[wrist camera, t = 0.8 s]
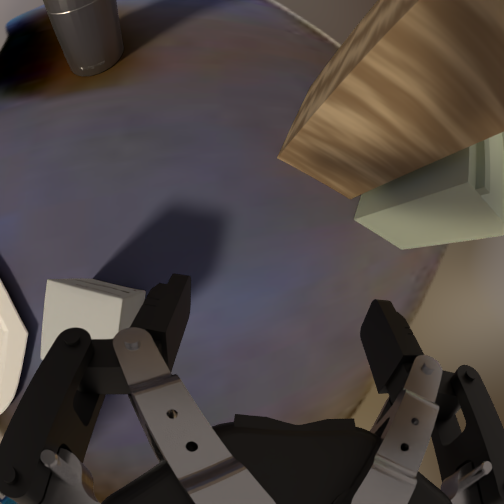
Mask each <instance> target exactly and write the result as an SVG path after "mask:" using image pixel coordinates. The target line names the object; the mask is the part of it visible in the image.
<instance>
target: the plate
mask: <svg viewBox="0 0 504 504" xmlns="http://www.w3.org/2000/svg"><path fill="white" fill-rule="evenodd" d="M27 338H28V331H27V329H26V327H25V325H24V323H23V322H22V320H21V318H20V316H19V314H18V312H17V310H16V308H15V306H14V304H13V302H12V300H11V298H10V296H9V294H8V292H7V290H6V288H5V286H4V284H3V283H2V281H1V279H0V415H1V414H2V413H3V412H4V410H5V409H6V408H7V407H8V406H9V404H10V403H11V401H12V400H13V398H14V396H15V393H16V390H17V387H18V383H19V379H20V375H21V370H22V365H23V360H24V355H25V350H26V344H27Z"/></svg>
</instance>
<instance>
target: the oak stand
mask: <svg viewBox="0 0 504 504" xmlns="http://www.w3.org/2000/svg"><path fill="white" fill-rule="evenodd" d="M502 132H504V0H378V1H377V2H376V3H375V4H374V6H373V7H372V8H371V9H370V10H369V12H368V13H367V14H366V15H365V17H364V18H363V19H362V20H361V22H360V23H359V24H358V25H357V27H356V28H355V29H354V30H353V32H352V33H351V34H350V35H349V37H348V38H347V39H346V40H345V42H344V43H343V44H342V46H341V47H340V48H339V49H338V51H337V52H336V53H335V55H334V56H333V57H332V59H331V60H330V61H329V63H328V64H327V65H326V66H325V68H324V69H323V70H322V72H321V73H320V74H319V76H318V77H317V79H316V80H315V81H314V83H313V84H312V85H311V87H310V89H309V91H308V93H307V95H306V97H305V99H304V101H303V103H302V105H301V108H300V110H299V112H298V114H297V116H296V118H295V120H294V122H293V124H292V127H291V129H290V131H289V133H288V135H287V137H286V139H285V142H284V144H283V146H282V148H281V150H280V152H279V154H278V157H277V158H278V159H280V160H282V161H284V162H286V163H288V164H289V165H291V166H293V167H295V168H297V169H299V170H300V171H302V172H304V173H306V174H308V175H309V176H311V177H313V178H315V179H317V180H318V181H320V182H322V183H324V184H325V185H327V186H329V187H330V188H332V189H334V190H336V191H337V192H339V193H341V194H342V195H344V196H346V197H347V198H349V199H352V198H354V197H356V196H359V195H361V194H363V193H365V192H368V191H370V190H372V189H374V188H377V187H379V186H381V185H383V184H386V183H388V182H390V181H392V180H394V179H397V178H399V177H401V176H403V175H406V174H408V173H410V172H413V171H415V170H417V169H419V168H422V167H424V166H426V165H428V164H431V163H433V162H435V161H437V160H440V159H442V158H444V157H446V156H449V155H451V154H453V153H456V152H458V151H460V150H462V149H465V148H467V147H469V146H472V145H474V144H476V143H478V142H481V141H483V140H485V139H488V138H490V137H492V136H495V135H497V134H499V133H502Z"/></svg>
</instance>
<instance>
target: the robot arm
mask: <svg viewBox="0 0 504 504" xmlns="http://www.w3.org/2000/svg"><path fill="white" fill-rule="evenodd" d="M43 2H44V5H45V8H46V10H47V13H48V15H49V18H50V21H51V23H52V26H53V28H54V31H55V33H56V36H57V38H58V41H59V43H60V45H61V48H62V50H63V52H64V55H65V57H66V59H67V62H68V64H69V66H70V68H71V70H72V72H73V73H74V74H76V75H79V76H91V75H95V74H98V73H101V72H103V71H105V70H107V69H108V68H110V67H112V66H113V65H114V64H115V63H116V62H117V61H118V60H119V59H120V57H121V55H122V53H123V49H124V46H123V41H122V35H121V28H120V22H119V16H118V9H117V2H116V0H43ZM190 305H191V277H190V276H186V275H180V274H172V276H171V278H170V280H169V282H168V284H162V283H159V284H158V285H156V286H155V287H153V288H152V289H151V290H150V292H149V294H148V295H147V298H146V299H145V301H144V302H143V305H142V306H141V308H140V309H139V311H138V313H137V315H136V317H135V319H134V320H133V322H132V324H131V326H130V328H126V329H123V330H121V331H119V332H118V333H117V334H116V335H115V336H114V338H113V339H91V336H90V334H89V333H88V331H86V330H85V329H82V328H77V327H74V328H69V329H66V330H64V331H63V332H61V333H60V334H59V335H58V337H57V338H56V340H55V341H54V343H53V344H52V346H51V348H50V349H49V351H48V353H47V354H46V356H45V358H44V359H43V361H42V363H41V364H40V366H39V368H38V370H37V371H36V373H35V375H34V377H33V378H32V380H31V382H30V384H29V386H28V388H27V389H26V391H25V393H24V395H23V397H22V399H21V401H20V403H19V405H18V407H17V409H16V411H15V413H14V415H13V417H12V419H11V421H10V423H9V425H8V428H7V430H6V432H5V434H4V437H3V439H2V441H1V444H0V492H1V493H2V494H4V495H5V496H7V497H9V498H10V499H12V500H14V501H15V502H16V503H18V504H100V503H99V502H98V501H97V499H96V498H95V495H94V492H93V483H94V482H93V477H92V474H91V473H90V471H89V470H88V469H87V468H86V467H85V466H84V464H83V461H84V457H85V454H86V451H87V448H88V444H89V441H90V438H91V435H92V432H93V429H94V426H95V423H96V420H97V417H98V415H99V412H100V409H101V406H102V403H103V401H104V398H105V395H106V394H128V397H129V399H130V401H131V404H132V406H133V408H134V410H135V413H136V415H137V417H138V419H139V421H140V423H141V426H142V428H143V430H144V432H145V434H146V436H147V439H148V441H149V443H150V445H151V447H152V449H153V451H154V453H155V455H156V457H157V459H158V460H159V462H160V463H159V464H157V465H156V466H154V467H153V468H152V469H150V470H149V471H147V472H146V473H144V474H143V475H141V476H140V477H138V478H137V479H135V480H134V481H132V482H130V483H129V484H127V485H126V486H124V487H123V488H121V489H119V490H118V491H116V492H114V493H113V494H111V495H110V496H108V497H107V498H106V499H105V500H104V501H103V502H102V503H101V504H504V429H503V426H502V424H501V421H500V419H499V416H498V414H497V412H496V410H495V407H494V405H493V403H492V401H491V398H490V396H489V394H488V392H487V390H486V387H485V385H484V384H483V382H482V379H481V377H480V375H479V374H478V372H477V371H476V370H475V369H474V368H472V367H470V366H468V365H462V366H460V367H459V368H458V369H457V370H456V372H455V373H452V372H447V371H443V370H442V367H441V365H440V364H439V363H438V361H437V360H435V359H434V358H432V357H430V356H427V355H424V354H423V352H422V350H421V348H420V346H419V344H418V342H417V340H416V338H415V336H414V335H413V332H412V330H411V329H410V327H409V325H408V323H407V321H406V319H405V318H404V317H403V316H402V315H401V314H399V313H398V312H396V310H395V308H394V307H393V305H392V303H391V302H390V301H387V300H377V299H375V300H373V301H372V303H371V305H370V308H369V310H368V312H367V315H366V317H365V319H364V322H363V324H362V326H361V331H360V337H361V341H362V344H363V347H364V350H365V353H366V356H367V359H368V362H369V365H370V368H371V371H372V374H373V378H374V381H375V384H376V387H377V391H378V393H379V394H382V393H389V398H388V399H387V400H386V402H385V404H384V406H383V408H382V410H381V412H380V414H379V416H378V418H377V419H376V421H375V423H374V425H373V427H372V429H371V430H370V431H367V430H365V429H362V428H359V427H355V422H354V419H326V420H322V421H317V422H313V423H308V424H303V425H294V424H290V423H286V422H282V421H278V420H275V419H271V418H268V417H260V416H249V415H240V414H235V418H234V422H229V423H223V424H219V425H216V426H213V427H211V426H210V424H209V423H208V421H207V420H206V418H205V417H204V415H203V414H202V412H201V411H200V409H199V408H198V406H197V405H196V403H195V402H194V400H193V398H192V397H191V395H190V394H189V392H188V391H187V389H186V387H185V386H184V384H183V382H182V381H181V379H180V378H179V377H178V375H176V374H175V375H172V374H171V371H172V368H173V365H174V362H175V358H176V355H177V352H178V349H179V346H180V343H181V340H182V337H183V334H184V331H185V328H186V325H187V322H188V319H189V314H190ZM460 408H461V409H462V411H463V414H464V417H465V420H466V427H465V430H464V431H463V432H462V433H461V430H460V427H459V424H458V421H457V418H456V415H455V414H456V413H457V411H458V410H459V409H460ZM430 437H432V441H433V445H434V448H435V453H436V457H437V461H438V465H439V469H440V474H441V479H442V485H441V490H440V489H439V488H437V487H436V486H435V485H434V484H433V483H431V482H430V481H429V480H428V479H427V478H425V477H424V476H423V475H422V474H421V473H419V472H418V469H419V467H420V464H421V462H422V459H423V456H424V454H425V451H426V448H427V446H428V443H429V440H430Z"/></svg>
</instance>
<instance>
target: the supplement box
mask: <svg viewBox="0 0 504 504" xmlns="http://www.w3.org/2000/svg"><path fill="white" fill-rule="evenodd" d="M145 294H146V291H145V290H139V289H133V288H128V287H124V286H119V285H115V284H111V283H107V282H102V281H99V280H95V279H48V280H47V287H46V295H45V304H44V315H43V326H42V338H41V359H42V360H43V359H44V358H45V356H46V354H47V353H48V351H49V349H50V348H51V346H52V344H53V343H54V341H55V340H56V338H57V337H58V335H59V334H60V333H61V332H63V331H64V330H66V329H69V328H74V327H77V328H82V329H85V330H86V331H88V333H89V334H90V336H91V339H113V338H114V336H115V335H116V334H117V333H118V332H119V331H121V330H123V329H126V328H130V326H131V324H132V322H133V320H134V319H135V317H136V315H137V313H138V311H139V309H140V308H141V306H142V305H143V302H144V301H145Z"/></svg>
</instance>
